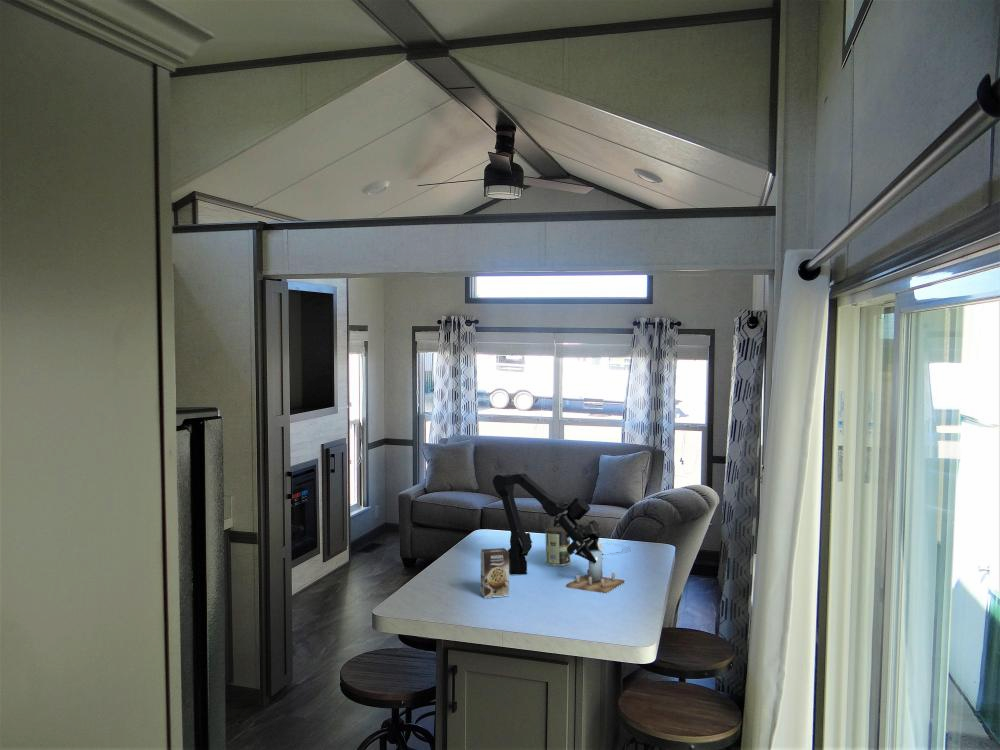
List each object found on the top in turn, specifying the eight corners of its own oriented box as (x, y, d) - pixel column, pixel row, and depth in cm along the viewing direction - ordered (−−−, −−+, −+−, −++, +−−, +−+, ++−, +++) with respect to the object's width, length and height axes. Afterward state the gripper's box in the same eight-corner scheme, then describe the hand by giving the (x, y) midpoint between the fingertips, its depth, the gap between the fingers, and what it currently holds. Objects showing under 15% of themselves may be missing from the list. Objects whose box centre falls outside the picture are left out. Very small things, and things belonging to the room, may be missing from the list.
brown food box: (484, 599, 278) (484, 552, 278) (480, 594, 284) (479, 548, 284) (509, 596, 281) (509, 551, 280) (504, 591, 287) (504, 547, 287)
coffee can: (569, 560, 333) (569, 526, 333) (571, 566, 323) (571, 531, 323) (544, 560, 333) (544, 526, 333) (545, 566, 323) (545, 531, 323)
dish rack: (566, 586, 292) (566, 576, 292) (585, 577, 306) (585, 566, 306) (606, 593, 284) (606, 582, 284) (624, 582, 297) (624, 572, 297)
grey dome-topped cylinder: (595, 580, 291) (595, 553, 291) (585, 577, 295) (585, 551, 295) (605, 578, 294) (605, 551, 294) (595, 575, 298) (595, 549, 298)
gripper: (574, 518, 289) (602, 552, 283) (596, 510, 305) (623, 542, 299) (555, 537, 293) (582, 571, 287) (578, 528, 309) (604, 560, 303)
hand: (598, 560), depth 294 cm, fingers closed on grey dome-topped cylinder, 5 cm apart
